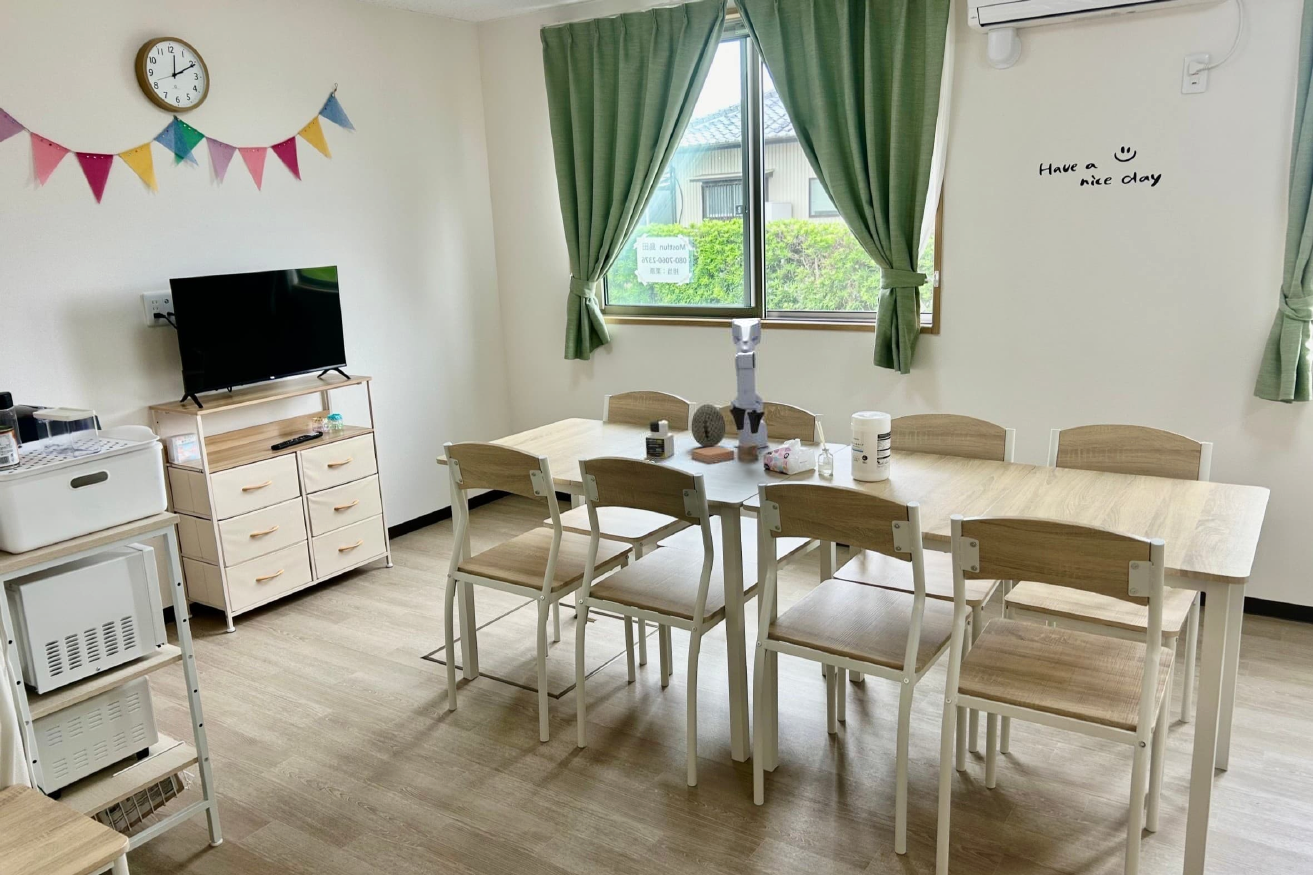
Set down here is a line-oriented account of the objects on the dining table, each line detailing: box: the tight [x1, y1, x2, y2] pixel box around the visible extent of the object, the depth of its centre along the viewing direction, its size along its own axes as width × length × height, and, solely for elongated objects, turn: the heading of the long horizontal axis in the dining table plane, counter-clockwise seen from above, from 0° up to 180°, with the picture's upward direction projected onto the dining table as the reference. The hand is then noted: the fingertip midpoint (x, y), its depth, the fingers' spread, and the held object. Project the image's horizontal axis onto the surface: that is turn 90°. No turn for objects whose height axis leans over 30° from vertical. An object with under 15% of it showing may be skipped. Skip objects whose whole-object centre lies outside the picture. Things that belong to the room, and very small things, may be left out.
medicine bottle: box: [645, 419, 675, 460], centre depth 322 cm, size 7×7×12 cm
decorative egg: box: [690, 403, 726, 448], centre depth 332 cm, size 12×12×15 cm
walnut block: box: [737, 443, 759, 463], centre depth 311 cm, size 5×5×5 cm
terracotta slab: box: [691, 445, 735, 464], centre depth 316 cm, size 10×10×3 cm
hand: (747, 431), depth 309 cm, fingers open, 7 cm apart
